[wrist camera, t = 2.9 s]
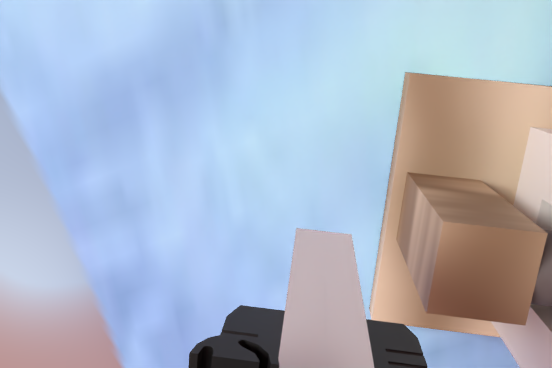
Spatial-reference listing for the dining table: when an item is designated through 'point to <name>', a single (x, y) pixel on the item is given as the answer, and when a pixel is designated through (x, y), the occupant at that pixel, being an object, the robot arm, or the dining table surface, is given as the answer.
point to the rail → (461, 208)
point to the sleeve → (547, 215)
